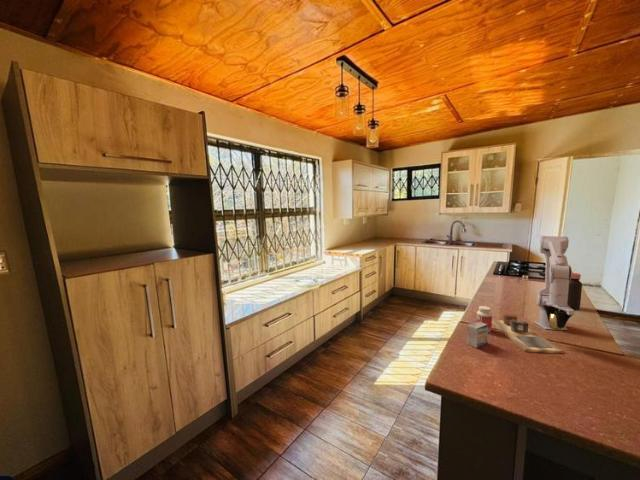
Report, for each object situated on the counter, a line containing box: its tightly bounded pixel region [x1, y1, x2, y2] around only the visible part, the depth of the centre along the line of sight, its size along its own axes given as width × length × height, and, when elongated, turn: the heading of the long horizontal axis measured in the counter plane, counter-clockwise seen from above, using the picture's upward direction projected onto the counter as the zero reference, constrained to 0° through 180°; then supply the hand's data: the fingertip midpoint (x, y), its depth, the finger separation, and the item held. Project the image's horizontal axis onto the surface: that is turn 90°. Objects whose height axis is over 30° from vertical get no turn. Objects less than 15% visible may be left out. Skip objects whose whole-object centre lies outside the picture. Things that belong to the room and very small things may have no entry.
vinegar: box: [567, 272, 583, 311], centre depth 146 cm, size 7×7×20 cm
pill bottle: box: [476, 305, 493, 333], centre depth 124 cm, size 6×6×11 cm
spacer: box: [549, 312, 564, 331], centre depth 109 cm, size 4×4×6 cm
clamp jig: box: [492, 319, 564, 354], centre depth 118 cm, size 14×28×5 cm, turn 172°
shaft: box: [503, 314, 523, 330], centre depth 123 cm, size 5×9×4 cm, turn 172°
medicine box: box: [466, 321, 489, 349], centre depth 112 cm, size 8×4×9 cm, turn 117°
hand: (556, 324), depth 109 cm, fingers closed on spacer, 4 cm apart
